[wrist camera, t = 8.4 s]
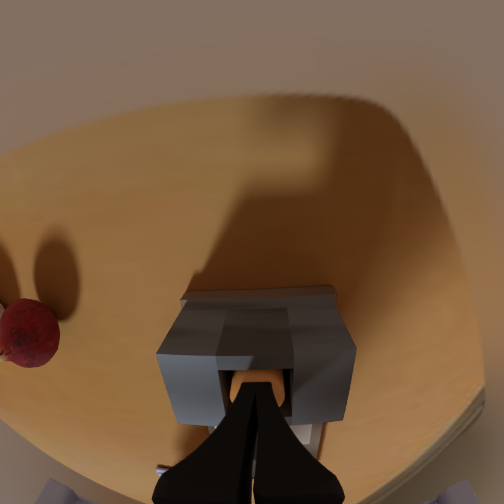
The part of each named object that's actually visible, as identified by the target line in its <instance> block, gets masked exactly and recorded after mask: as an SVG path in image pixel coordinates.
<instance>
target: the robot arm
mask: <svg viewBox="0 0 504 504" xmlns="http://www.w3.org/2000/svg"><path fill="white" fill-rule="evenodd" d="M257 432H258V441H257V455H256V466H255V476H254V485H253V493H254V499H255V504H342V503H343V501H344V499H345V495H344V491H343V489H342V486H341V484H340V483H339V481H338V479H337V477H336V476H335V475H334V474H333V473H332V472H330V471H329V470H328V469H327V468H325V467H324V466H323V465H322V464H321V463H320V462H319V461H318V460H317V459H315V458H314V457H313V455H312V454H311V453H310V452H309V451H308V450H307V449H306V448H305V447H304V446H303V444H302V443H301V442H300V441H299V439H298V438H297V437H296V435H295V434H294V433H293V431H292V430H291V428H290V426H289V425H288V423H287V421H286V420H285V418H284V416H283V414H282V412H281V410H280V408H279V406H278V403H277V401H276V398H275V395H274V392H273V388H272V383H271V382H269V381H268V382H243V383H241V386H240V388H239V391H238V393H237V395H236V397H235V399H234V401H233V403H232V405H231V406H230V408H229V410H228V412H227V413H226V415H225V416H224V418H223V419H222V420H221V422H220V423H219V425H218V426H217V427H216V429H215V430H214V431H213V432H212V433H211V435H210V436H209V437H208V438H207V439H206V440H205V441H204V442H203V443H202V444H201V445H200V446H199V447H198V448H197V449H196V450H195V451H193V452H192V453H191V454H190V455H188V456H187V457H186V458H185V459H183V460H182V461H181V462H179V463H178V464H176V465H175V466H173V467H172V468H170V469H165V468H160V467H157V468H156V472H157V473H158V475H159V476H160V478H159V480H158V482H157V484H156V486H155V489H154V492H153V496H152V501H153V503H154V504H251V497H252V469H253V460H254V453H255V447H256V439H257ZM35 504H97V503H95V502H93V501H89V500H88V499H85V498H83V497H80V496H78V495H77V494H76V493H75V492H74V491H73V490H72V489H71V488H69V487H68V486H66V485H64V484H62V483H60V482H58V481H56V480H54V479H52V478H49V480H48V481H47V483H46V485H45V487H44V488H43V490H42V492H41V494H40V495H39V497H38V499H37V501H36V503H35ZM421 504H479V502H478V500H477V497H476V495H475V493H474V491H473V489H472V487H471V484H470V482H469V480H468V479H465V480H462V481H460V482H458V483H457V484H454V485H452V486H450V487H448V488H446V489H445V490H443V491H442V492H441V493H440V494H439V496H438V497H436V498H434V499H431V500H429V501H427V502H424V503H421Z"/></svg>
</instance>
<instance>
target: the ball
mask: <svg viewBox="0 0 504 504" xmlns="http://www.w3.org/2000/svg"><path fill="white" fill-rule="evenodd" d="M4 311H5V310H4V307H3V305H2V304H0V318H1V316H2V314H3V312H4Z"/></svg>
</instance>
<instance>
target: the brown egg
mask: <svg viewBox="0 0 504 504" xmlns="http://www.w3.org/2000/svg"><path fill="white" fill-rule="evenodd" d="M268 381H269V382H271V383H272V388H273V392H274V395H275V398H276V401H277V403H278V406H279V407H280V406H281V404H282V403H283V401H284V398H285V393H284V380H283V369H266V370H234V371H233V378H232V384H231V391H230V399H231V401H232V403H233V401H234V399H235V397H236V395H237V393H238V391H239V388H240V386H241V383H243V382H268Z"/></svg>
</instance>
